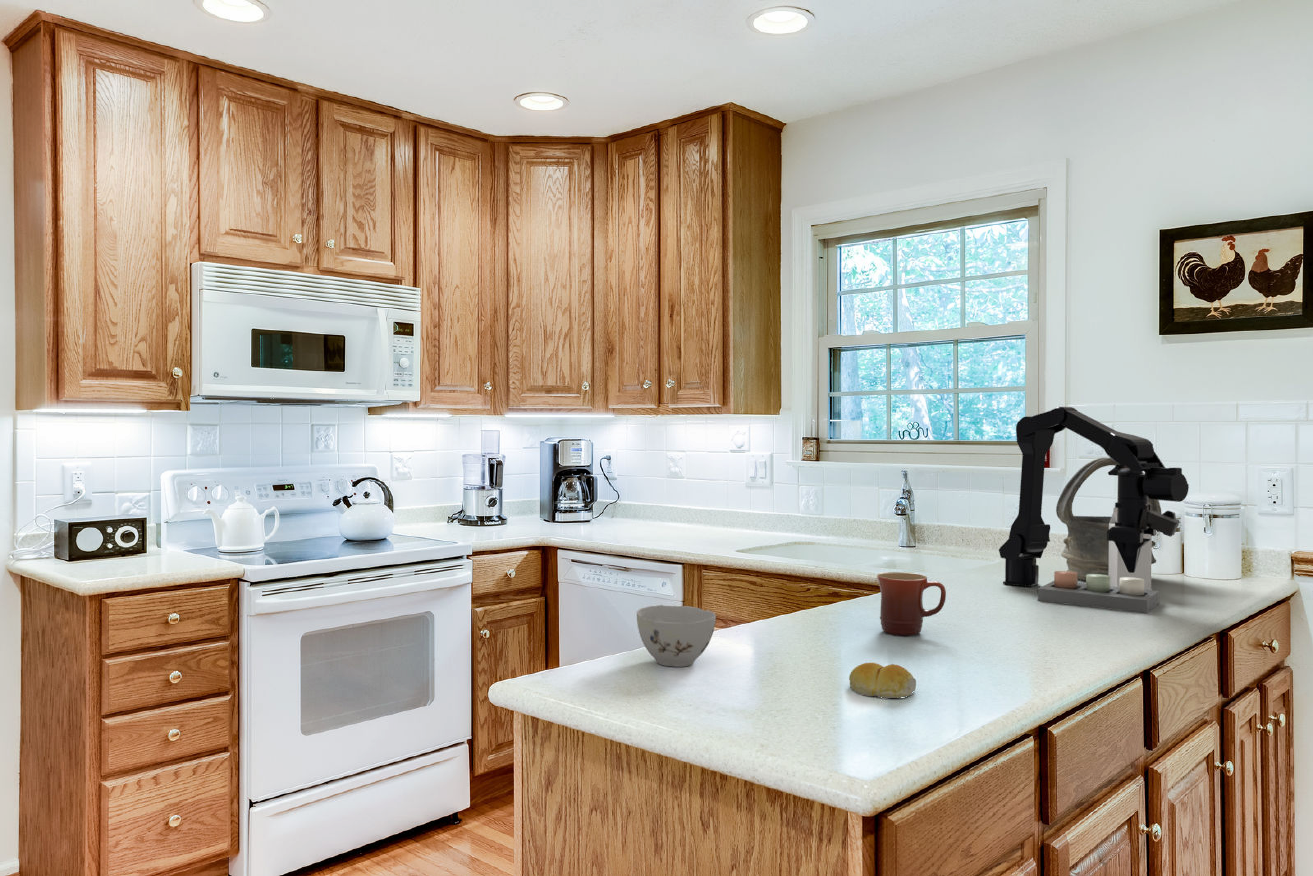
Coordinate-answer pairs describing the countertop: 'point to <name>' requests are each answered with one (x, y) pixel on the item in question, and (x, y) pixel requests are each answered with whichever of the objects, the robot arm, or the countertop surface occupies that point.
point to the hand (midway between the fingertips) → (1131, 572)
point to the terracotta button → (1065, 579)
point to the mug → (905, 602)
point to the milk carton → (1118, 566)
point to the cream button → (1131, 586)
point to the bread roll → (882, 680)
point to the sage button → (1098, 582)
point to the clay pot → (1088, 528)
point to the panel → (1099, 598)
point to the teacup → (675, 633)
